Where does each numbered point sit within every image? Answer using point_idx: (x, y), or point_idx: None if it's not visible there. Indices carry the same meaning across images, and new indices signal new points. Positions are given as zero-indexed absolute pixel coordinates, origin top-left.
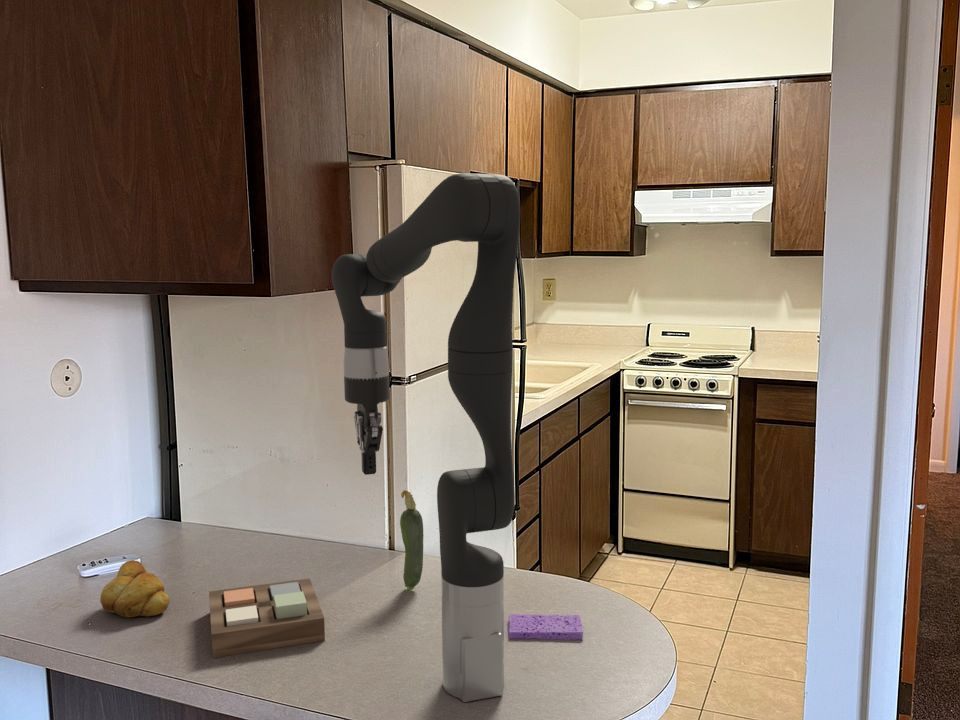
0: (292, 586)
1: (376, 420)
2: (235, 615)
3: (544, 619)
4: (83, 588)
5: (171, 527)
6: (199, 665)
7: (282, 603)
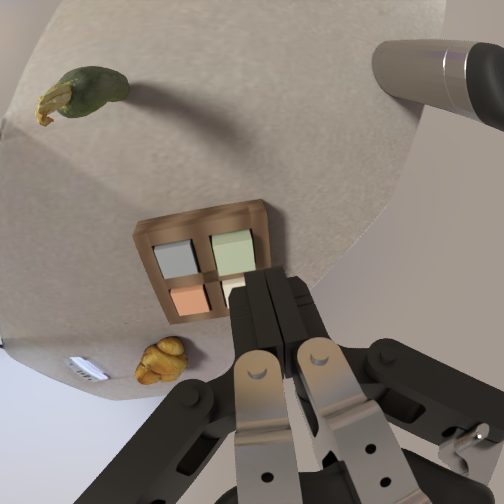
0: (169, 255)
1: (478, 482)
2: None
3: None
4: (128, 376)
5: (13, 343)
6: None
7: (246, 264)
